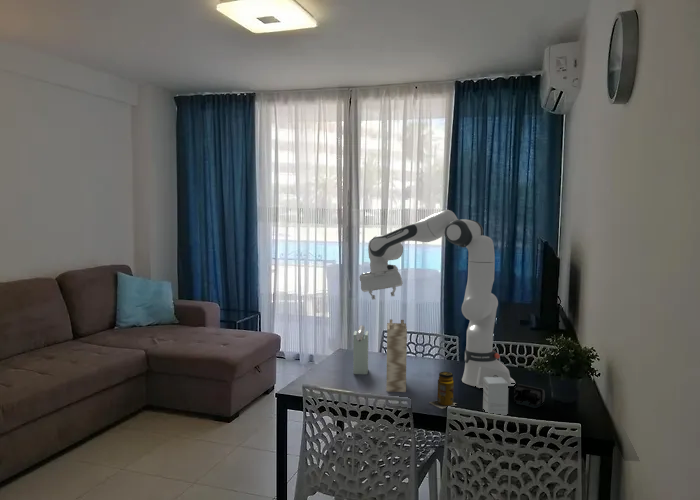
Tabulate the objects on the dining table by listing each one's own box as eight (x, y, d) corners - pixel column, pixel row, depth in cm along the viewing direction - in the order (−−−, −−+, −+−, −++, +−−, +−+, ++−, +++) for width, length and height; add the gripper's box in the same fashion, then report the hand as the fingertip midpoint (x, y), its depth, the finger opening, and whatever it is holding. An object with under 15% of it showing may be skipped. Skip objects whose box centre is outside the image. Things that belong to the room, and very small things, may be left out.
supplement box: (501, 409, 197) (502, 376, 196) (508, 417, 190) (509, 383, 189) (482, 409, 197) (483, 376, 196) (487, 417, 189) (488, 383, 189)
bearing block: (405, 382, 227) (405, 319, 225) (405, 392, 215) (406, 325, 213) (386, 382, 228) (387, 319, 226) (386, 391, 216) (387, 325, 214)
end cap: (544, 404, 203) (545, 387, 202) (538, 410, 197) (539, 392, 197) (519, 398, 209) (519, 382, 208) (512, 403, 203) (513, 386, 203)
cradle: (368, 369, 247) (368, 331, 245) (367, 374, 239) (367, 335, 237) (354, 368, 247) (354, 330, 246) (353, 374, 239) (353, 334, 238)
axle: (359, 331, 252) (358, 325, 252) (365, 330, 252) (364, 324, 252) (356, 341, 232) (355, 335, 232) (363, 340, 232) (362, 334, 232)
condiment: (458, 404, 202) (458, 374, 201) (441, 409, 197) (442, 377, 196) (444, 399, 208) (445, 369, 207) (428, 403, 203) (429, 372, 202)
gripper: (357, 272, 256) (360, 299, 251) (398, 265, 252) (402, 292, 247) (360, 275, 261) (363, 302, 257) (400, 268, 257) (404, 295, 253)
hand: (383, 297), depth 252 cm, fingers open, 8 cm apart
